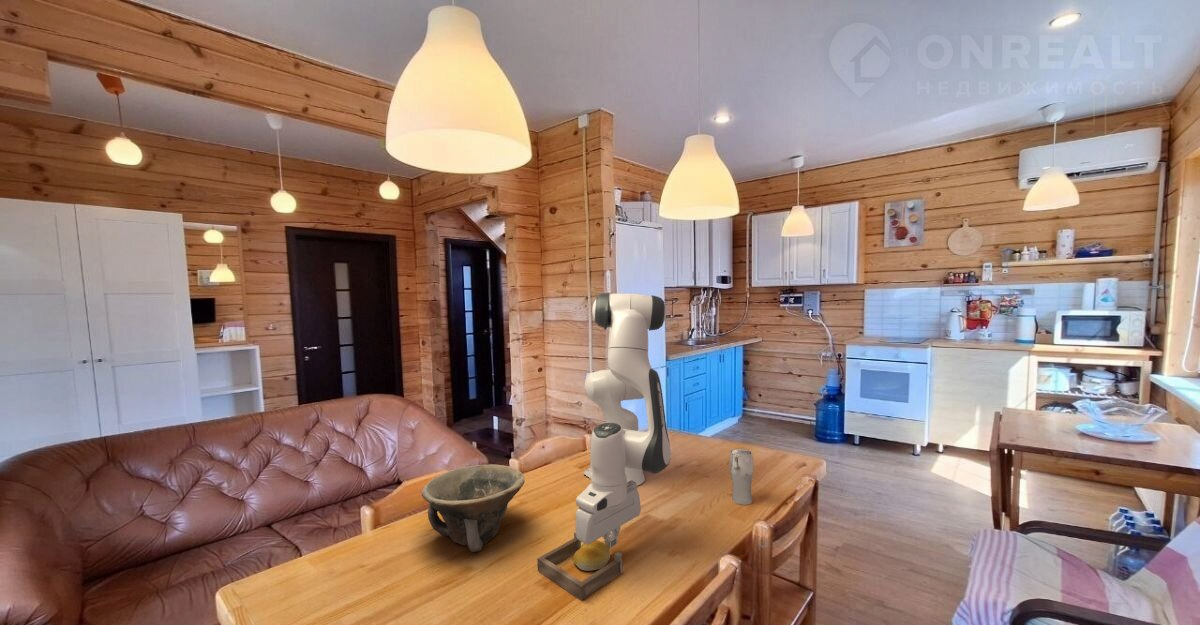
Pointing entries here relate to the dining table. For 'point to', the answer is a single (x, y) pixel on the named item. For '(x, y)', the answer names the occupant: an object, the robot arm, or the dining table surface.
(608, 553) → the bread roll
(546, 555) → the bay
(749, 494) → the beer glass
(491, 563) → the dining table surface
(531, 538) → the dining table surface
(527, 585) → the dining table surface
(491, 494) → the bowl
